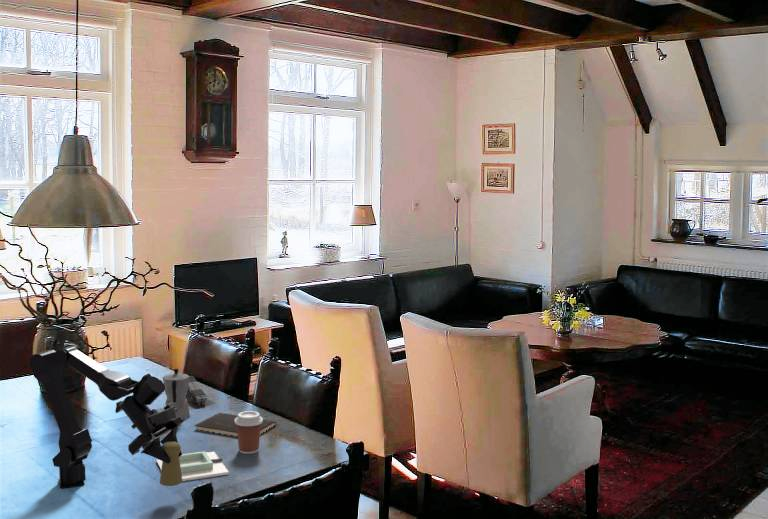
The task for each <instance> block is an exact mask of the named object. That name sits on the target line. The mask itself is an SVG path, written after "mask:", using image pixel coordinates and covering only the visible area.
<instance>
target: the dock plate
mask: <svg viewBox="0 0 768 519" xmlns="http://www.w3.org/2000/svg"><path fill="white" fill-rule="evenodd" d="M156 461H157V463H158V465H159V467H160V469H162V461H161V460H159V459H157V458H156V460H155V462H156ZM179 461H180V467H181V474H182V482H188V481H194V480H200V479H207V478H214V477H219V476H226V475H229V474H230V472H229V470H228V469H227V467H226V466H225V464H224V463H223V461H224V459H223V458H222V457H219V455H217V454H216V452H215V451H209V452H206V451H204V450H203V451H196V452H189V453H182V455H181V456H180V457H179ZM157 463H156V464H157ZM158 465H157V466H158ZM159 467H158V468H159ZM160 469H159V470H160ZM187 480H188V481H187Z"/></svg>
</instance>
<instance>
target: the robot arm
mask: <svg viewBox="0 0 768 519" xmlns="http://www.w3.org/2000/svg"><path fill="white" fill-rule="evenodd" d="M63 363H64V364H66V365H67V366H69V367H70V368H71V369H73V370H74V371H76V372H78V373H80V374H81V375H82V376H84V377H85V378H87V379H89V380H90V381H91V382H93V383H94V384H95V385H96V386H97V387H98V390H99V392H100V393H101V394H103V396H105V397H106V398H107V399H108V400H110V401H112V402H114V401H117V400H120V399H122V398H124V397H125V398H124V399H122V400H120V401H118V402H116V403H115V404H116V405H115V406H116V407H115V413H116V414H118V413H121V412H124V414H125V415H126V417H128V419H129V421H131V423H132V425H131V429H132V430H135V429H137V430H138V431H139V433H140V434H139V435H137V436H136V437H135V439H134V440H132V441H131V442H130V443H129V444H128V447H127V448H128V452H129V453H130V454H131V455H132V456H134V455H136V454H139V452H140V453H141V455H143V454H145V455H147V456H150V457H152V458H155V459H156V460H157V459H159V460H161V461H163V462H165V463H168V464H169V463H170V462H171V460H170V458H169V456H168V455H167V453H166V452H165V450H164V449H163V448H162V445H163V444H164V443H166V442H171V441H174V442H178V443H179V441H178V438H177V433H178V430H179V428H180V427H181V426H182V424H183V423H184V420H182V419H181V418H180V417H177V416H176V413H177V408H176V407H175V406H174V405H173V404H172V403H171V404H168V405H166V406H165V405H163V410H161V411H159V412H158V411H157V409H154V408H153V409H150V408H149V406H150V405H152V404H153V403H154V402H155V401H156V400H157V399H158V398H159V397H160V396H161V395H162V394H163V393H165V386H164V382H163V380H162V379H159V378H158V377H156V376H153V375H151V374H150V373H146V374H144V375H143V376H142V377H141V379H140V380H137V379H136V380H135V379H132V378H131V377H130V376H128V375H126V374H124V373H122V372H119V371H115V370H110V369H107V367H105V366H103V365H101V364H100V363H98V362H97V361H96V360H94V359H93V358H90V357H89V356H88V355H86V354H84V352H82V351H80V350H79V349H78V347H77V346H74V345H70V346H66V347H64V348H59V350H55V349H47V350H45V351H41V352H38V353H34V354H33V355H31V357H30V359H29V360H28V366H29V369H30V371H31V373H32V375H33V377H34V378H35V379H36V380H37V381H38V382H40V383H41V384H42V385H43V388H44V390H45V394H46V396H47V399H48V402H49V404H50V408H51V411H52V413H53V415H54V419H55V422H56V424H57V427H58V429H59V438H58V449H59V452H58V453H57V454H56V455H54V457H53V458H52V463H53V466H54V467H56V468H58V474H59V476H58V483H59V484H58V485H59V488H60V489H66V488H72V487H78V486H84V485H85V481H86V480H87V479H86V465H85V463H84V460H87V459H88V457H89V453H90V452H91V450H92V448H93V444H92V442H93V439H92V438H91V436H90V430H89V429H88V428H85V429H83V428H82V427H80V426H79V425H78V421H77V419H76V417H75V413H74V411H73V408H72V406H71V402H70V400H69V396H68V394H67V392H66V388H65V385H64V383H63V381H62V380H63V379H62V375H63V370H64V369H63V367H64V366H63ZM161 444H162V445H161ZM141 448H142V450H141ZM140 450H141V451H140ZM182 454H183V453H182V450H181V451H180V453H179V457H180V456H181V455H182Z"/></svg>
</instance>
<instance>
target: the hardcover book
mask: <svg viewBox="0 0 768 519" xmlns="http://www.w3.org/2000/svg"><path fill="white" fill-rule="evenodd" d="M237 417H238V414H232V413H231V414H230V413H224V412H218V413H216V414H214V415H213V416H210V417H208V418H206V419H204V420H202V421H201V422H198V423H196V424H194V427H195V430H196V429H199V430H198V431H200V430H204V431H203V432H206V431H209V432H208V433H212V432H215V433H214V434H218V433H221V434H220V435H224V434H228V435H227V436H230V435H233V436H232V437H236V436H238V434H237V425H236V424H235V421H234V420H235V419H236V418H237ZM274 425H276V426H277V421H276V420H270V419H263V422H262V423H261V428H260V435H262V434H264V433H265V432H267V431H269V430H270V429H272V428H274V427H275V426H274ZM273 426H274V427H273ZM271 427H272V428H271ZM269 428H270V429H269ZM268 429H269V430H268ZM266 430H267V431H266ZM263 432H264V433H263ZM261 433H262V434H261Z"/></svg>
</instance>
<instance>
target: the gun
mask: <svg viewBox="0 0 768 519" xmlns="http://www.w3.org/2000/svg"><path fill="white" fill-rule="evenodd" d="M189 376H190V377H189V384H188V391H187V395H188V396H189V398H191V400H192V401H193V403H194V404H195V405H197V406H204V405H205V403H207V400H208V399H207V395H206V393H205V391H204V390H203V389H202V388H201V386H200V385H199V383H198V382H197V379H196V378H195V376H194V375H189Z"/></svg>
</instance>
